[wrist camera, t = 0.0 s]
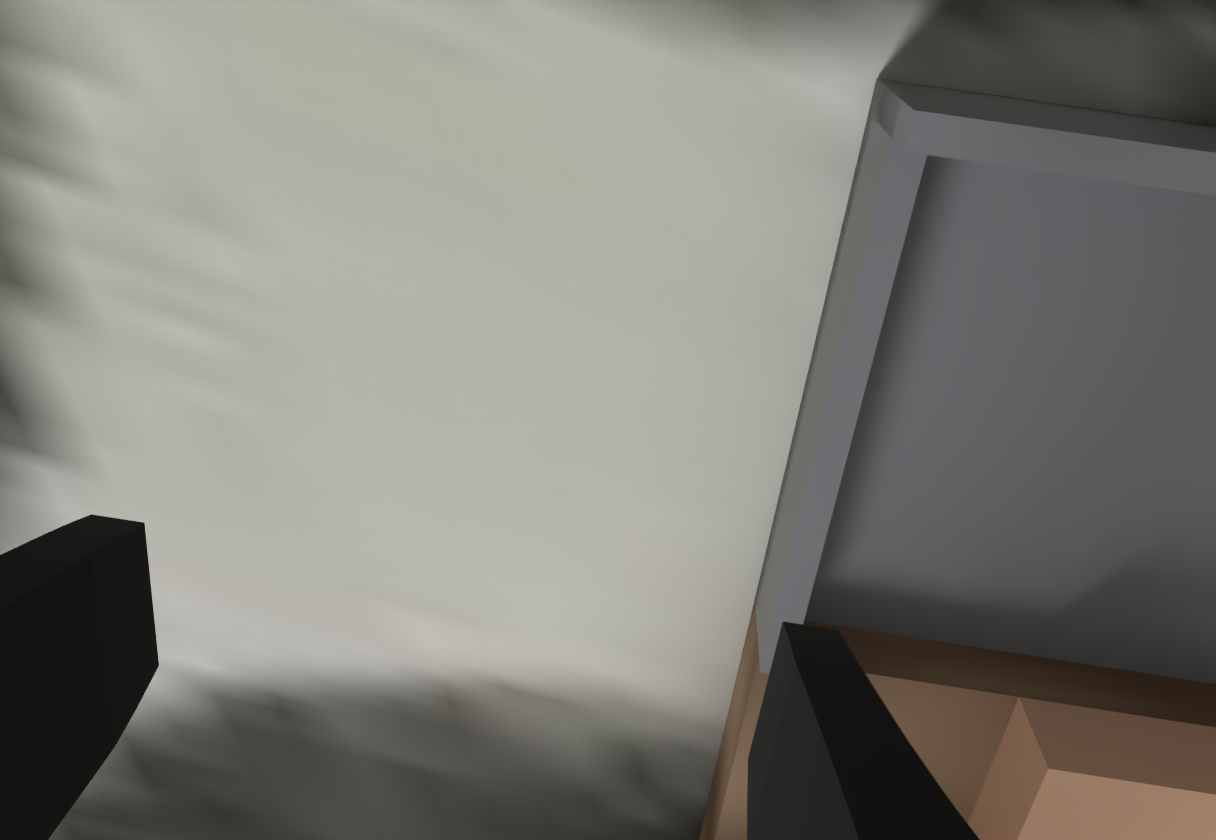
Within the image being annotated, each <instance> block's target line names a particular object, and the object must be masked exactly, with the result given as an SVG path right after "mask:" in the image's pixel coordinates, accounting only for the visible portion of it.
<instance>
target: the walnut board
mask: <svg viewBox="0 0 1216 840" xmlns="http://www.w3.org/2000/svg"><path fill="white" fill-rule="evenodd" d="M803 625H809V626H816V627H822V628H829V629H835V630H838V631H839V632H840V634H841V635H842V637H843V638H844V639H845V641H846V643H847V644H848V646H849V647H850V649H851V651H852V652H853V654H854V655H855V657H856V659H857V660H858V662H859V664H860V665H861V667H862V669H863V670H864V672H865V673H866V675H867V677H868V678H869V680H870V682H871V683H872V685H873V686H874V688H875V690H876V691H877V693H878V694H879V696H880V698H881V699H882V701H883V702H884V704H885V705H886V707H887V709H888V710H889V712H890V713H891V715H892V716H893V718H894V720H895V721H896V723H897V724H898V726H899V727H900V729H901V730H902V732H903V733H904V735H905V736H906V738H907V739H908V741H909V742H910V744H911V745H912V747H913V748H914V750H915V751H916V752H917V754H918V755H919V757H920V758H921V760H922V761H923V763H924V764H925V765H926V767H927V768H928V770H929V771H930V773H931V774H932V775H933V777H934V778H935V780H936V781H937V783H938V784H939V786H940V787H941V788H942V790H943V791H944V793H945V794H946V795H947V797H948V798H949V799H950V801H951V802H952V804H953V805H954V806H955V808H956V809H957V810H958V812H959V813H960V814H961V816H962V817H963V819H964V820H965V821H966V822H967V824H968V822H969V820H970V817H971V815H972V812H973V810H974V807H975V805H976V802H977V800H978V797H979V795H980V792H981V790H982V787H983V785H984V782H985V780H986V777H987V775H988V772H989V770H990V767H991V765H992V762H993V760H994V758H995V755H996V753H997V750H998V748H999V745H1000V743H1001V740H1002V738H1003V735H1004V733H1005V730H1006V728H1007V725H1008V723H1009V720H1010V718H1011V715H1012V713H1013V710H1014V708H1015V705H1016V703H1017V700H1018V698H1019V697H1022V698H1029V699H1035V700H1042V701H1048V702H1055V703H1061V704H1067V705H1074V706H1080V707H1087V708H1093V709H1100V710H1106V711H1113V712H1119V713H1126V714H1132V715H1139V716H1145V717H1152V718H1158V719H1164V720H1171V721H1177V722H1184V723H1190V724H1197V725H1203V726H1210V727H1216V684H1212V683H1206V682H1199V681H1193V680H1186V679H1180V678H1173V677H1167V676H1160V675H1154V674H1147V673H1141V672H1134V671H1128V670H1121V669H1115V668H1108V667H1102V666H1095V665H1089V664H1082V663H1076V662H1069V661H1063V660H1056V659H1050V658H1043V657H1037V656H1030V655H1024V654H1017V653H1011V652H1004V651H998V650H991V649H985V648H978V647H972V646H965V645H959V644H952V643H946V642H939V641H933V640H926V639H920V638H913V637H907V636H900V635H894V634H887V633H881V632H874V631H868V630H861V629H855V628H848V627H842V626H835V625H829V624H822V623H816V622H809V621H804V623H803ZM768 677H769V674H766V673H760V661H759V648H758V635H757V622H756V609H755V601H754V606H753V610H752V614H751V619H750V623H749V627H748V631H747V636H746V640H745V644H744V648H743V653H742V657H741V661H740V666H739V670H738V674H737V678H736V683H735V687H734V691H733V696H732V700H731V704H730V708H729V713H728V717H727V721H726V725H725V730H724V734H723V738H722V743H721V747H720V751H719V755H718V760H717V764H716V768H715V773H714V777H713V781H712V785H711V790H710V794H709V798H708V802H707V807H706V811H705V815H704V820H703V824H702V828H701V832H700V837H699V840H747V786H748V756H749V752H750V748H751V745H752V741H753V737H754V733H755V729H756V725H757V721H758V717H759V713H760V709H761V705H762V701H763V697H764V693H765V689H766V685H767V681H768Z"/></svg>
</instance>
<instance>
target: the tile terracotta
mask: <svg viewBox="0 0 1216 840" xmlns="http://www.w3.org/2000/svg"><path fill="white" fill-rule="evenodd" d="M968 825H969V826H970V828H971V829H972V830H973V831H974V833H975V834H976V835H977V837H978V838H979V839H980V840H1216V727H1210V726H1203V725H1197V724H1190V723H1184V722H1177V721H1171V720H1164V719H1158V718H1152V717H1145V716H1139V715H1132V714H1126V713H1119V712H1113V711H1106V710H1100V709H1093V708H1087V707H1080V706H1074V705H1067V704H1061V703H1055V702H1048V701H1042V700H1035V699H1029V698H1022V697H1019V698H1018V700H1017V703H1016V705H1015V708H1014V710H1013V713H1012V715H1011V718H1010V720H1009V723H1008V725H1007V728H1006V730H1005V733H1004V735H1003V738H1002V740H1001V743H1000V745H999V748H998V750H997V753H996V755H995V758H994V760H993V762H992V765H991V767H990V770H989V772H988V775H987V777H986V780H985V782H984V785H983V787H982V790H981V792H980V795H979V797H978V800H977V802H976V805H975V807H974V810H973V812H972V815H971V817H970V820H969V822H968Z"/></svg>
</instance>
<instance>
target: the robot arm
mask: <svg viewBox="0 0 1216 840" xmlns="http://www.w3.org/2000/svg"><path fill="white" fill-rule="evenodd" d="M158 666H159V663H158V653H157V643H156V633H155V623H154V613H153V604H152V594H151V584H150V574H149V564H148V555H147V545H146V535H145V525H144V523H142V522H136V521H129V520H123V519H116V518H110V517H103V516H97V515H89V516H87V517H84V518H82V519H79V520H77V521H74V522H72V523H69V524H67V525H65V526H62V527H60V528H58V529H55V530H53V531H51V532H49V533H47V534H44V535H42V536H40V537H38V538H36V539H34V540H31V541H29V542H27V543H25V544H23V545H21V546H19V547H17V548H14V549H12V550H10V551H8V552H6V553H4V554H2V555H0V840H48V839H49V837H50V836H51V835H52V833H53V832H54V830H55V829H56V828H57V826H58V825H59V824H60V822H61V821H62V820H63V818H64V817H65V815H66V814H67V813H68V811H69V810H70V809H71V807H72V806H73V804H74V803H75V802H76V800H77V799H78V797H79V796H80V795H81V793H82V792H83V790H84V789H85V788H86V786H87V785H88V784H89V782H90V781H91V779H92V778H93V777H94V775H95V774H96V772H97V771H98V770H99V768H100V767H101V765H102V764H103V763H104V761H105V760H106V758H107V757H108V755H109V754H110V753H111V751H112V750H113V748H114V747H115V745H116V744H117V742H118V740H119V738H120V737H121V735H122V733H123V731H124V730H125V728H126V726H127V724H128V722H129V721H130V719H131V717H132V715H133V714H134V712H135V710H136V708H137V706H138V704H139V702H140V701H141V699H142V697H143V695H144V693H145V691H146V689H147V687H148V685H149V683H150V681H151V679H152V677H153V676H154V674H155V672H156V670H157V668H158ZM747 840H980V839H979V838H978V837H977V835H976V834H975V833H974V831H973V830H972V829H971V828H970V826H969V825H968V824H967V822H966V821H965V820H964V819H963V817H962V816H961V814H960V813H959V812H958V810H957V809H956V808H955V806H954V805H953V804H952V802H951V801H950V799H949V798H948V797H947V795H946V794H945V793H944V791H943V790H942V788H941V787H940V786H939V784H938V783H937V781H936V780H935V778H934V777H933V775H932V774H931V773H930V771H929V770H928V768H927V767H926V765H925V764H924V763H923V761H922V760H921V758H920V757H919V755H918V754H917V752H916V751H915V750H914V748H913V747H912V745H911V744H910V742H909V741H908V739H907V738H906V736H905V735H904V733H903V732H902V730H901V729H900V727H899V726H898V724H897V723H896V721H895V720H894V718H893V716H892V715H891V713H890V712H889V710H888V709H887V707H886V705H885V704H884V702H883V701H882V699H881V698H880V696H879V694H878V693H877V691H876V690H875V688H874V686H873V685H872V683H871V682H870V680H869V678H868V677H867V675H866V673H865V672H864V670H863V669H862V667H861V665H860V664H859V662H858V660H857V659H856V657H855V655H854V654H853V652H852V651H851V649H850V647H849V646H848V644H847V643H846V641H845V639H844V638H843V637H842V635H841V634H840V632H839V631H838V630H835V629H829V628H822V627H816V626H809V625H803V624H796V623H790V622H782V626H781V630H780V634H779V638H778V642H777V646H776V650H775V654H774V658H773V662H772V666H771V670H770V673H769V677H768V681H767V685H766V689H765V693H764V697H763V701H762V705H761V709H760V713H759V717H758V721H757V725H756V729H755V733H754V737H753V741H752V745H751V748H750V752H749V756H748V786H747Z"/></svg>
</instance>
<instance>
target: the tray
mask: <svg viewBox="0 0 1216 840" xmlns="http://www.w3.org/2000/svg"><path fill="white" fill-rule="evenodd" d="M755 609H756V622H757V635H758V648H759V661H760V673H766V674H769V673H770V670H771V666H772V662H773V658H774V654H775V650H776V646H777V642H778V638H779V634H780V630H781V626H782V622H790V623H796V624H803V623H804V621H809V622H816V623H822V624H829V625H835V626H842V627H848V628H855V629H861V630H868V631H874V632H881V633H887V634H894V635H900V636H907V637H913V638H920V639H926V640H933V641H939V642H946V643H952V644H959V645H965V646H972V647H978V648H985V649H991V650H998V651H1004V652H1011V653H1017V654H1024V655H1030V656H1037V657H1043V658H1050V659H1056V660H1063V661H1069V662H1076V663H1082V664H1089V665H1095V666H1102V667H1108V668H1115V669H1121V670H1128V671H1134V672H1141V673H1147V674H1154V675H1160V676H1167V677H1173V678H1180V679H1186V680H1193V681H1199V682H1206V683H1212V684H1216V126H1209V125H1202V124H1195V123H1188V122H1181V121H1174V120H1166V119H1159V118H1152V117H1145V116H1138V115H1131V114H1124V113H1117V112H1110V111H1103V110H1095V109H1088V108H1081V107H1074V106H1067V105H1060V104H1053V103H1046V102H1039V101H1031V100H1024V99H1017V98H1010V97H1003V96H996V95H989V94H982V93H975V92H968V91H960V90H953V89H946V88H939V87H932V86H925V85H918V84H911V83H904V82H897V81H889V80H882V79H877V80H876V84H875V88H874V92H873V97H872V101H871V105H870V109H869V114H868V118H867V122H866V127H865V131H864V135H863V139H862V144H861V148H860V152H859V157H858V161H857V165H856V169H855V174H854V178H853V182H852V186H851V191H850V195H849V199H848V204H847V208H846V212H845V216H844V221H843V225H842V229H841V234H840V238H839V242H838V246H837V251H836V255H835V259H834V263H833V268H832V272H831V276H830V281H829V285H828V289H827V293H826V298H825V302H824V306H823V311H822V315H821V319H820V323H819V328H818V332H817V336H816V340H815V345H814V349H813V353H812V358H811V362H810V366H809V370H808V375H807V379H806V383H805V388H804V392H803V396H802V400H801V405H800V409H799V413H798V417H797V422H796V426H795V430H794V435H793V439H792V443H791V447H790V452H789V456H788V460H787V465H786V469H785V473H784V477H783V482H782V486H781V490H780V494H779V499H778V503H777V507H776V512H775V516H774V520H773V524H772V529H771V533H770V537H769V542H768V546H767V550H766V554H765V559H764V563H763V567H762V571H761V576H760V580H759V584H758V589H757V593H756V597H755Z"/></svg>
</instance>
